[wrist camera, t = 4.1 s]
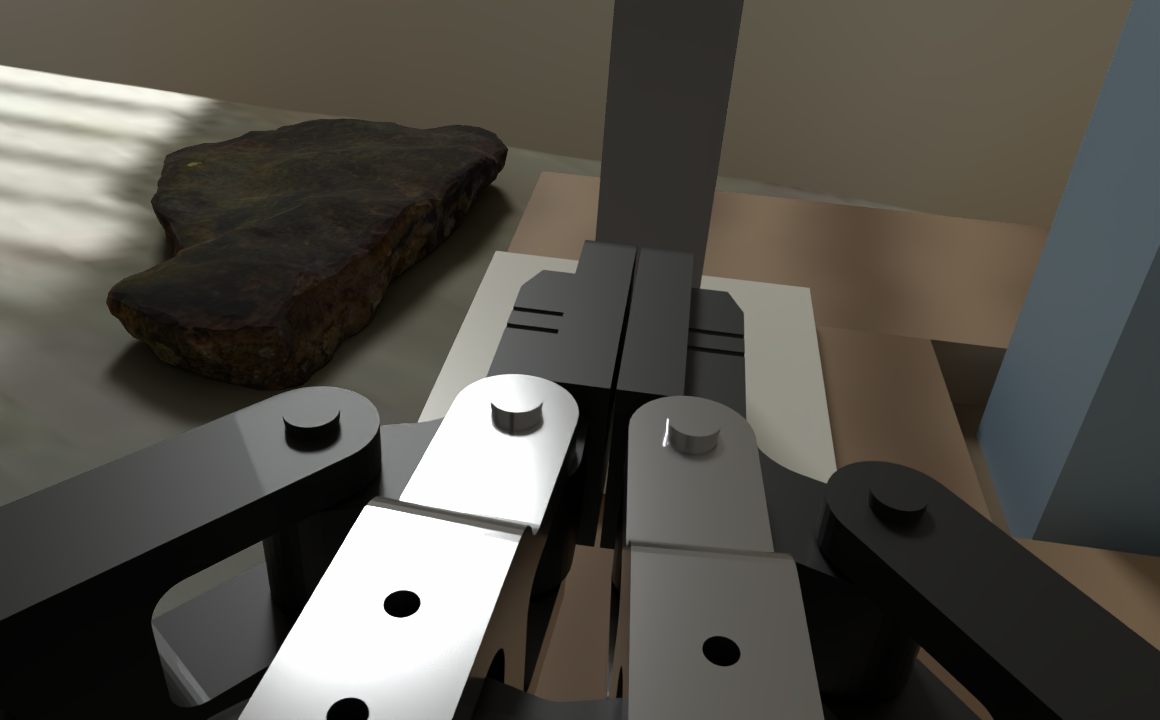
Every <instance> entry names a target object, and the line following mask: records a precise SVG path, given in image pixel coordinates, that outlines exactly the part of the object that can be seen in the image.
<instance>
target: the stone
mask: <svg viewBox="0 0 1160 720" xmlns="http://www.w3.org/2000/svg"><path fill="white" fill-rule="evenodd" d="M507 152H508V148H507V147H506V146H505V145H504V144H503V142H502V141H501V140H500V139H499V138H498V137H497V135H496V134H494V133H493V132H490V131H488V130H485V129H482V128H480V127H472V126H466V125H464V126H462V125H452V126H445V127H438V128H433V129H425V130H421V129H415V128H409V127H404V126H401V125H398V124H396V123H392V122H372V121H365V120H358V119H319V120H312V121H306V122H302V123H299V124H295V125H290V126H283V127H280V128H278V129H277V130H270V131H250V132H248V133H246V134H244V135H242V136H241V137H238V138H234V139H231V140H227V141H223V142H218V143H203V144H199V145H195V146H190V147H186V148H183V149H181V150H178V151H176V152H173V153H171V154H169V155H166V158H165V161H164V166H163V169H162V172H161V177H160V179H159V180H158V190H157V193H156V194H155V195H154V196H153V198H152V200H151V203H152V206H153V209H154V212H155V214H156V216H157V218H158V220H159V222H160V223H161V225H162V226H163V228H164V229H165V232H166V237H167V241H168V242H169V243H171V244H172V245H173V246H174V248H175V250H174V257H173V258H171V259H169V260H167V261H165V262H163V263H161V264H159V265H157V266H154V267H152V268H150V269H148V270H146V271H144V272H141V273H138V274H135V275H132V276H129V277H127V278H124V279H123V280H121V281H120V282H119V283H117V284H116V285H114V286H113V287H112V289H111V290H110V291H109V293H108V297H107V301H106V303H107V306H108V308H109V310H110V312H111V314H112V315H113V316H115V317H116V318H118V319H119V320H120V322H121V323H122V325H123V326H124V327H125V329H126V330H127V332H128V333H129V334H131V335H132V336H133V337H134V338H136V339H139V340H142V341H144V342H146V344H147V345H148V347H149V348H150V349H151V351H152V352H153V353H154V354H155V355H156V356H157V357H158V358H159V359H160V360H162V361H164V362H165V363H168V364H171V365H174V366H176V367H179V368H183V369H187V370H190V371H193V372H195V373H197V374H199V375H201V376H204V377H207V378H210V379H214V380H218V381H222V382H226V383H231V384H236V385H240V386H244V387H248V388H253V389H257V390H279V389H284V388H289V387H295V386H300V385H302V384H304V383H305V382H306V381H308V380H309V378H310V376H311V375H312V374H314V373H315V372H316V371H318V370H319V369H321V368H322V367H324V366H325V365H326V364H327V363H328V362H329V361H330V359H331V358H332V357H333V355H334V352H335V350H336V349H337V348H338V347H339V346H340V345H341V343H342V342H343V341H344V340H345V339H346V338H347V337H350V336H353V335H355V334H357V333H359V332H360V331H361V330H362V329H364V328H365V327H366V326H367V325H369V324H370V323H371V321H372V320H373V317H374V315H375V312H376V308H377V306H378V304H379V303H380V301H381V300H382V298H383V296H384V295H385V292H386V290H387V287H388V286H389V284H390V283H391V281H392V280H393V279H395V278H397V277H398V276H399V275H400V274H401V273H403V272H404V271H405V270H407V269H408V268H409V267H411V266H412V265H413V264H414V263H416V262H417V261H419V260H420V259H422V258H423V257H424V256H426V255H427V254H429V253H430V252H431V251H433V250H434V249H435V248H436V247H438V246H439V245H440V244H441V243H442V242H444V241H445V240H446V239H447V238H448V237H450V236H451V234H452V233H453V232H454V231H455V230H456V229H457V228H459V226H460V224H461V221H462V220H463V218H464V216H465V215H466V214H467V212H468V211H469V208H470V205H471V203H472V202H473V201H474V200H475V199H476V197H477V196H478V195H479V193H480V192H481V190H482V189H484V188H485V187H487V186H488V185H489V184H491V183H492V182H493V181H494V180H495V179H496V177H497V175H498V173H499V172H501V170H502V169H503V167H504V165H505V161H506V156H507Z"/></svg>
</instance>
